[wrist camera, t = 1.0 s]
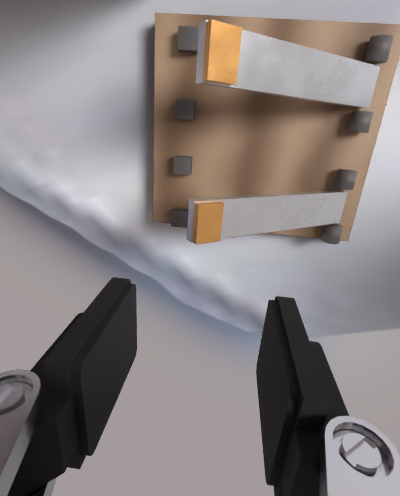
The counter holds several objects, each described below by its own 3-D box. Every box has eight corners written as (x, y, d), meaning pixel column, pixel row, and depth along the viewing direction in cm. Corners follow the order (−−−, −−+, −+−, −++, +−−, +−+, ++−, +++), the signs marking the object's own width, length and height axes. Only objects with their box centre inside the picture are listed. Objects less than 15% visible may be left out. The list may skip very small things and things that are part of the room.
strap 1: (370, 67, 24) (387, 65, 23) (360, 108, 25) (376, 108, 24) (198, 23, 17) (211, 16, 16) (195, 83, 18) (207, 81, 17)
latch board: (395, 32, 25) (420, 17, 22) (341, 234, 32) (353, 247, 28) (160, 20, 26) (149, 5, 23) (157, 216, 33) (148, 226, 30)
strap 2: (340, 190, 28) (353, 193, 27) (332, 220, 29) (345, 224, 28) (189, 198, 21) (198, 203, 19) (186, 238, 22) (195, 245, 21)
